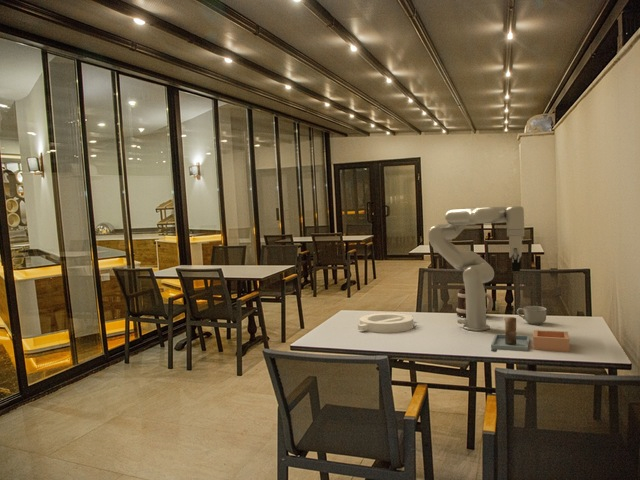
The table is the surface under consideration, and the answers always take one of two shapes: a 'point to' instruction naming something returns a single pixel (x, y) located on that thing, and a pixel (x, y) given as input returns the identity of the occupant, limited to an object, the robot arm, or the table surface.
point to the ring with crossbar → (386, 322)
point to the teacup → (533, 314)
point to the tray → (521, 345)
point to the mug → (462, 303)
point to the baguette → (510, 330)
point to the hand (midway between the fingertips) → (516, 270)
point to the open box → (551, 340)
